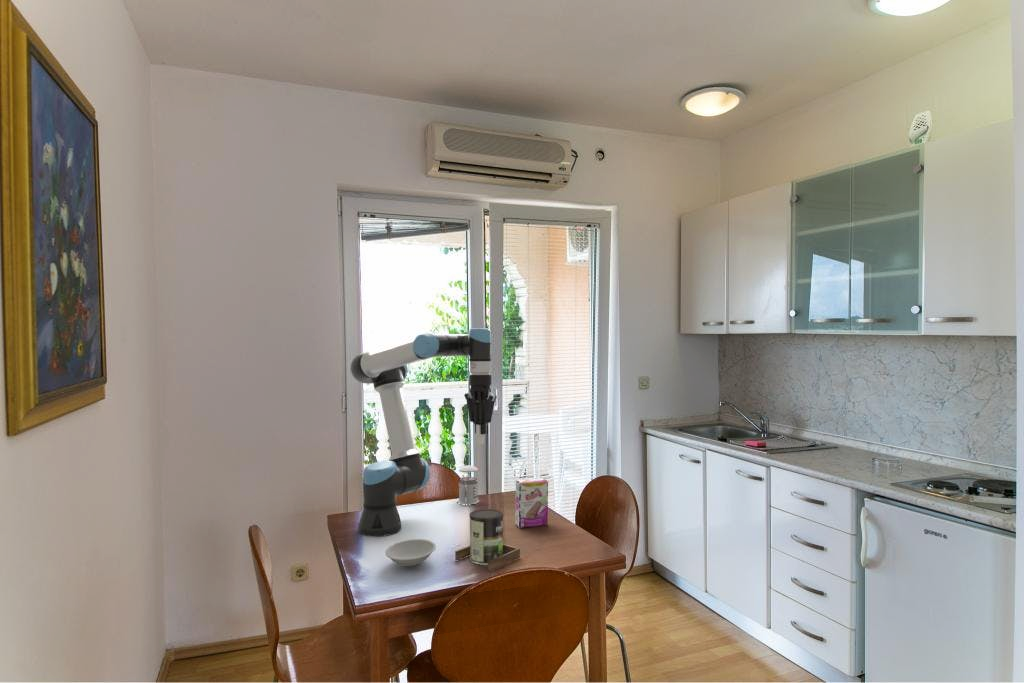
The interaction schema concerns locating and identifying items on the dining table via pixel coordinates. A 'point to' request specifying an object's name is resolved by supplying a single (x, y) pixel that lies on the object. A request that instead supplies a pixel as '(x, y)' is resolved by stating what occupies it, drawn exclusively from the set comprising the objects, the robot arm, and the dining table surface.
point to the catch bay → (509, 556)
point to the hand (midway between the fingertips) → (480, 443)
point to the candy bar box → (531, 503)
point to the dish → (410, 551)
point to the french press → (468, 485)
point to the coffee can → (486, 535)
